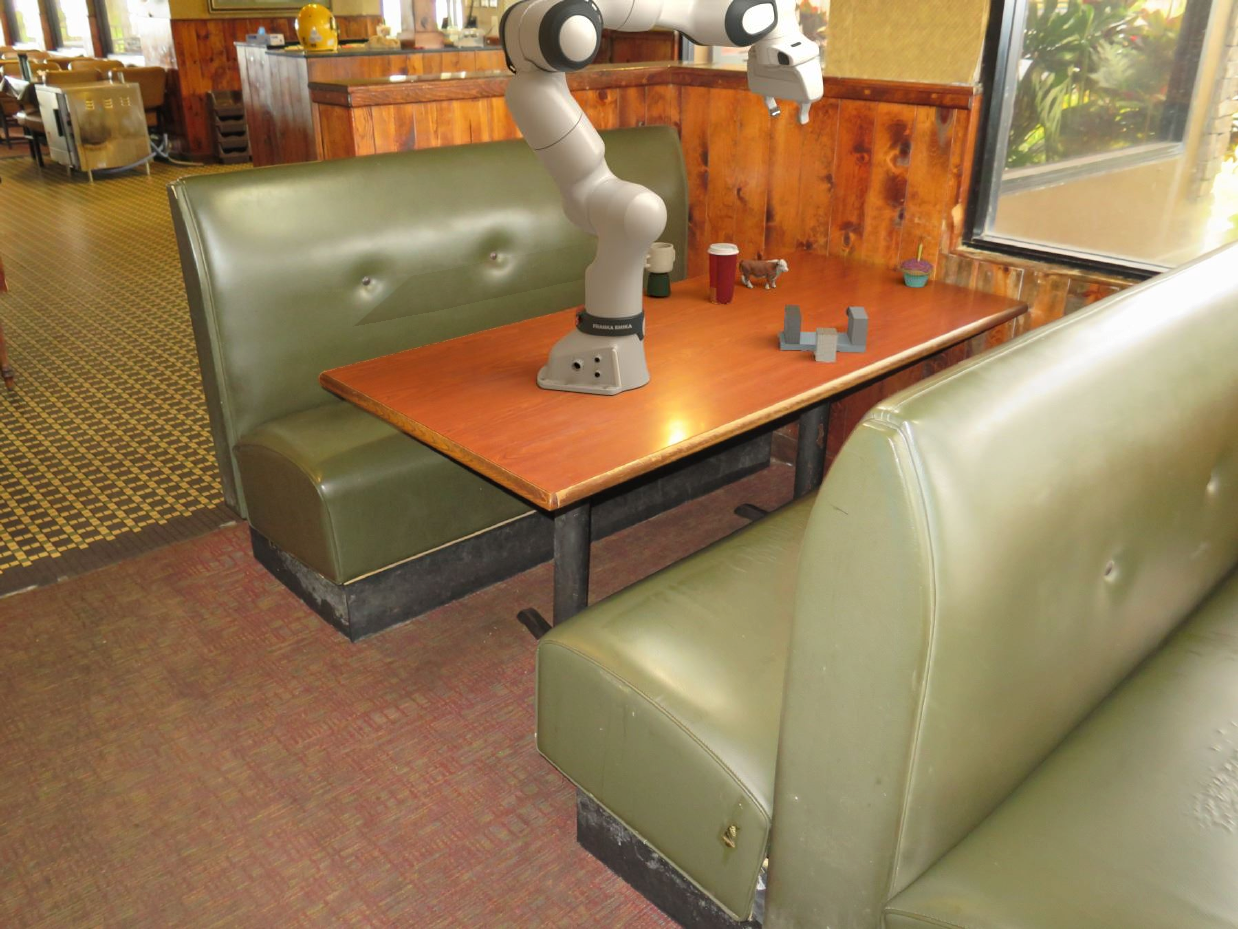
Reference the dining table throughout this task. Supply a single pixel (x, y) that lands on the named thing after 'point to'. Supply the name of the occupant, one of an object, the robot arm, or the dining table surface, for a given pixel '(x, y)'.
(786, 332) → the jaw
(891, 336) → the dining table surface
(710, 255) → the paper cup
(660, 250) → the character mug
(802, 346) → the vise base
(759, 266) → the bull figurine
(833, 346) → the block
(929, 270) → the cupcake
